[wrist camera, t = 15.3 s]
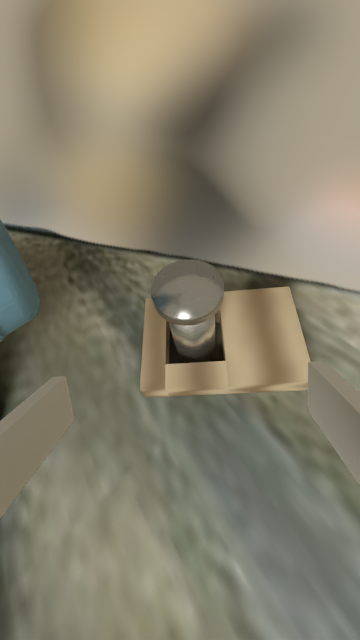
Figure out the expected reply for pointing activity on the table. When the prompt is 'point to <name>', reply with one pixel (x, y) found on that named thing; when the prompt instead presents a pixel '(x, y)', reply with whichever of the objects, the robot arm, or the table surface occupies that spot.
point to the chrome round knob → (189, 306)
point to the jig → (232, 349)
